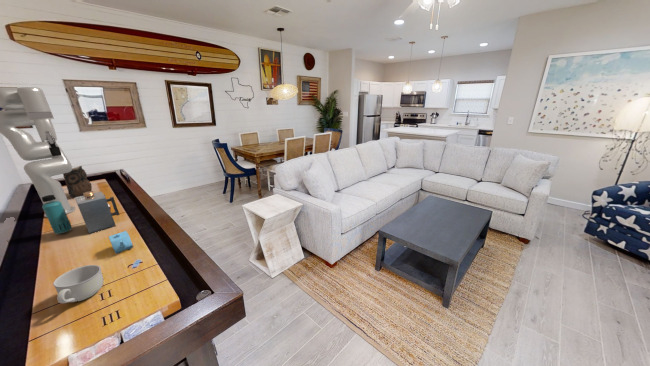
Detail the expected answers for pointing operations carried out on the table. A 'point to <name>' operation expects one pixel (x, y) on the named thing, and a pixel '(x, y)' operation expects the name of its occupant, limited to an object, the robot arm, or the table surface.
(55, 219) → the beverage bottle
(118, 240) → the printed blue cube
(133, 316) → the table surface
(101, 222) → the coffee press
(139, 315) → the table surface
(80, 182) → the owl
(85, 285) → the teacup
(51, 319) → the table surface
